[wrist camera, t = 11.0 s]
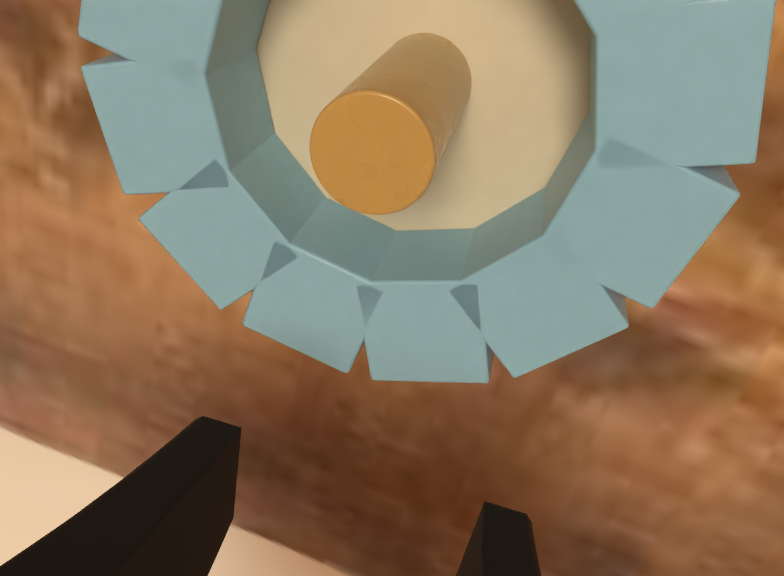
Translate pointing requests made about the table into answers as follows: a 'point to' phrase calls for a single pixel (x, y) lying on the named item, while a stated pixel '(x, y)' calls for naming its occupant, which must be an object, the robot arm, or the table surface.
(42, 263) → the table surface
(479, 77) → the peg stand
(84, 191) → the table surface
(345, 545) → the table surface
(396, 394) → the table surface
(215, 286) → the ring
